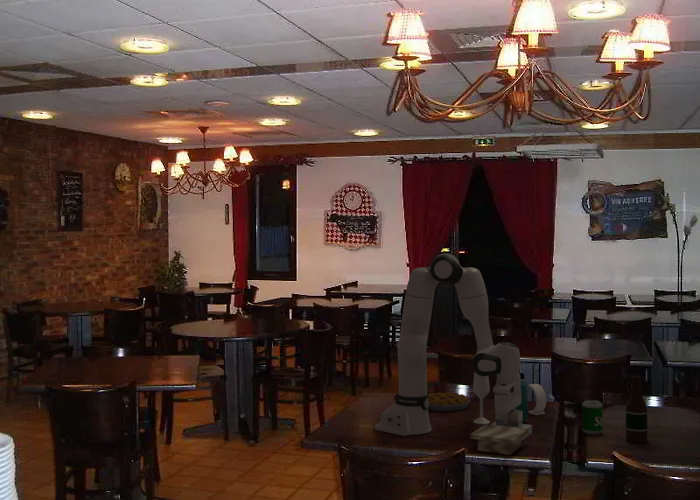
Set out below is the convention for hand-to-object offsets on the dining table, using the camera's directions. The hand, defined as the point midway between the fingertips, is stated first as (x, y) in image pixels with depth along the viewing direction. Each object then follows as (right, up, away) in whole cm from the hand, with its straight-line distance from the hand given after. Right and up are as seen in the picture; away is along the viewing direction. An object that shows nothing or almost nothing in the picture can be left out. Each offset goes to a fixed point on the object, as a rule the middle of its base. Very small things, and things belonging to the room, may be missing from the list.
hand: (508, 421), depth 300 cm
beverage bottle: (+8, -5, +18) cm, 20 cm away
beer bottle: (+45, -5, -11) cm, 46 cm away
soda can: (+32, -5, +1) cm, 32 cm away
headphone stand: (+18, -4, +31) cm, 36 cm away
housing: (0, -2, 0) cm, 2 cm away
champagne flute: (-7, -5, +19) cm, 21 cm away
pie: (-19, -4, +47) cm, 51 cm away
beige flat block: (0, -5, 0) cm, 5 cm away
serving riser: (-7, -6, -18) cm, 20 cm away
